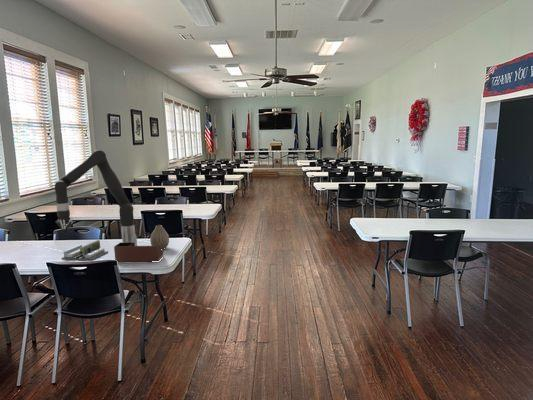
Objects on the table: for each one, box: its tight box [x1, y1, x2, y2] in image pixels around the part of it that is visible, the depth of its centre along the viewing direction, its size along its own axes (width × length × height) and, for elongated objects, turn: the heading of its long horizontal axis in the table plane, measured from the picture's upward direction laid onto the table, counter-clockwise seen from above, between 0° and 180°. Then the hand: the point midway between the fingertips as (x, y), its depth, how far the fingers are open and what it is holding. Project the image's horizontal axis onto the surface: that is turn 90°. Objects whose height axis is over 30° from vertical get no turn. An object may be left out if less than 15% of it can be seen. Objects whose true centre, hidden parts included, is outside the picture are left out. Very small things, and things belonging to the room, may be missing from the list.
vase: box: [149, 224, 170, 250], centre depth 261 cm, size 13×13×18 cm
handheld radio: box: [76, 239, 101, 259], centre depth 248 cm, size 7×3×25 cm
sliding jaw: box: [63, 244, 83, 257], centre depth 250 cm, size 6×16×4 cm, turn 171°
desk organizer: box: [113, 242, 164, 263], centre depth 237 cm, size 10×29×11 cm, turn 90°
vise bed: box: [61, 247, 109, 261], centre depth 249 cm, size 22×18×3 cm
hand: (65, 234), depth 249 cm, fingers closed
